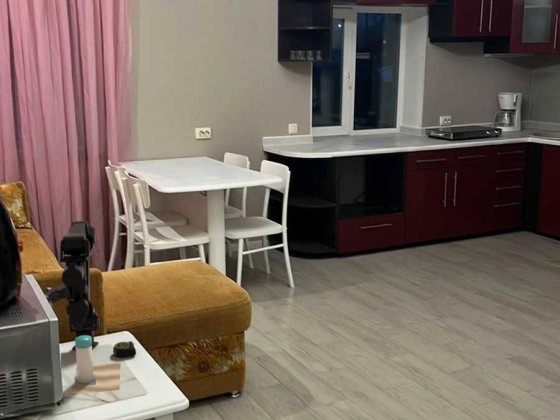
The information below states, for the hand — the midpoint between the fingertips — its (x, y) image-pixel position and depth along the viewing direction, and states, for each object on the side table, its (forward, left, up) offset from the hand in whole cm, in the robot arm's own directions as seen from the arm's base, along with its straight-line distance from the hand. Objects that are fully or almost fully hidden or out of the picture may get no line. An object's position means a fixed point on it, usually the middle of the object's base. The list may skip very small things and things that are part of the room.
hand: (79, 325), depth 207 cm
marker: (+10, +6, -12) cm, 17 cm away
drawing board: (+8, +9, -13) cm, 18 cm away
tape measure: (-10, +11, -13) cm, 20 cm away
